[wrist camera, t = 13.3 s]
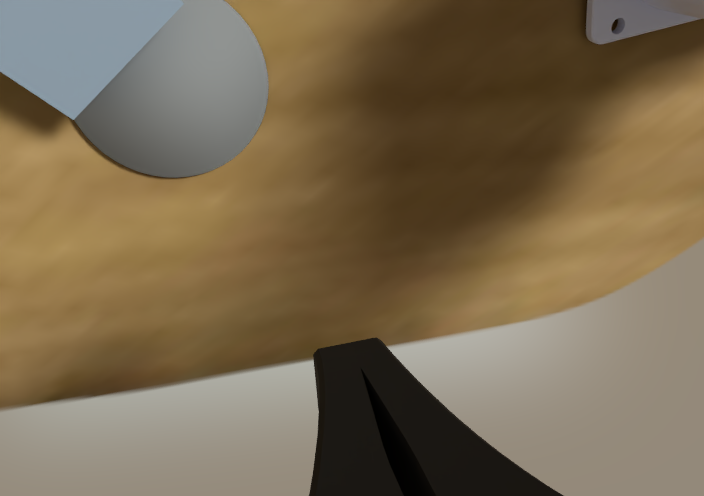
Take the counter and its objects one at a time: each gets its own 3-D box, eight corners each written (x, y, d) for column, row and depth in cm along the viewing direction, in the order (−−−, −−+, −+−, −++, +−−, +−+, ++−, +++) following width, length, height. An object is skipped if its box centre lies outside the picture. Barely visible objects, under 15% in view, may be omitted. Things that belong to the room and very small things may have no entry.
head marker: (305, 86, 19) (307, 88, 18) (178, 208, 20) (178, 211, 19) (157, -75, 15) (157, -75, 15) (14, 81, 16) (13, 82, 16)
